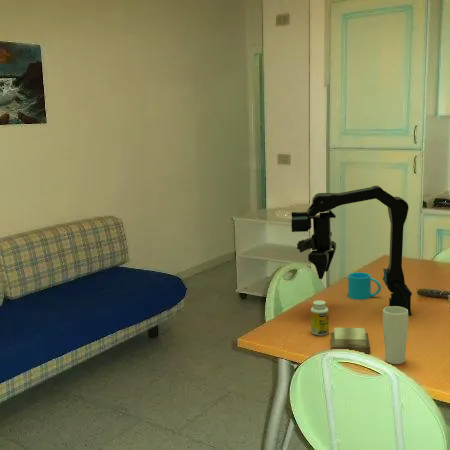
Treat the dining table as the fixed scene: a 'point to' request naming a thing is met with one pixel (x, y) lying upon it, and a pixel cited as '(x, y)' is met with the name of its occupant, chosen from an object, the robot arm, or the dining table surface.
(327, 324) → the supplement bottle
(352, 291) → the mug
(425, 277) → the dining table surface
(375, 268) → the dining table surface
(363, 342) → the stand
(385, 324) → the drinking glass
